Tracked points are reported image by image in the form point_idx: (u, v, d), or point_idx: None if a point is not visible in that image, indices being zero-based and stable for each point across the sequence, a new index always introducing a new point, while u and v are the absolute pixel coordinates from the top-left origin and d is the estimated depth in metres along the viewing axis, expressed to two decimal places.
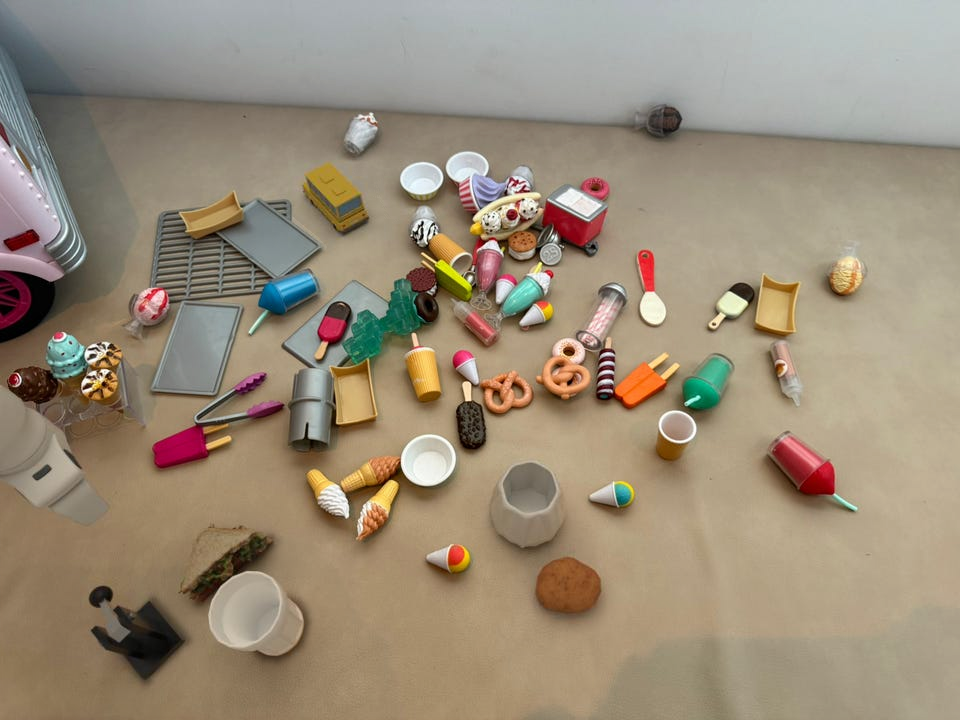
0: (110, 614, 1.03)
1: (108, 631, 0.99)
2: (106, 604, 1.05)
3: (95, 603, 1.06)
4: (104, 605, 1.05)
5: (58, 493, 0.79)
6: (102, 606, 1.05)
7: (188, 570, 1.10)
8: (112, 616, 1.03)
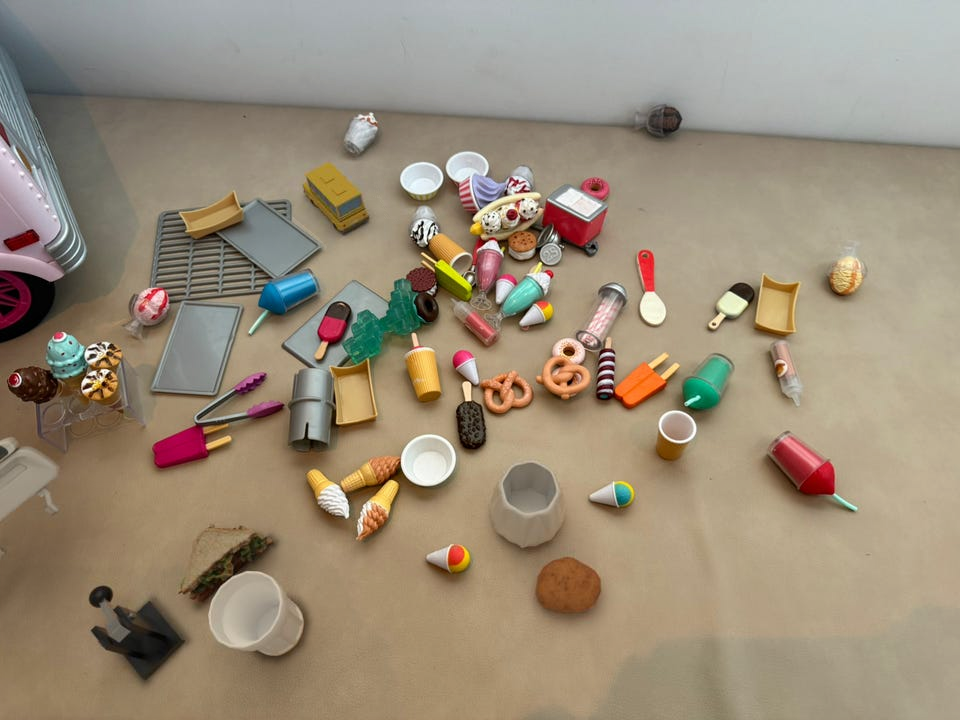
0: (110, 614, 1.03)
1: (108, 631, 0.99)
2: (106, 604, 1.05)
3: (95, 603, 1.06)
4: (104, 605, 1.05)
5: (13, 439, 1.03)
6: (102, 606, 1.05)
7: (188, 570, 1.10)
8: (112, 616, 1.03)
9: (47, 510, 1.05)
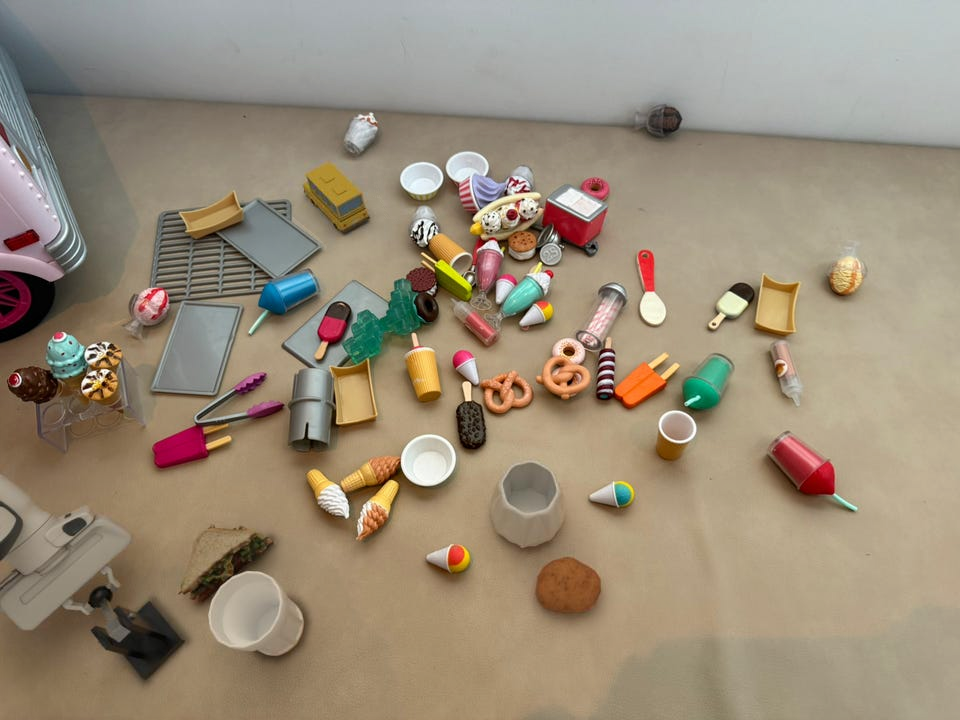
0: (110, 614, 1.03)
1: (108, 631, 0.99)
2: (106, 604, 1.05)
3: (95, 603, 1.06)
4: (104, 605, 1.05)
5: (90, 509, 1.06)
6: (102, 606, 1.05)
7: (188, 570, 1.10)
8: (112, 616, 1.03)
9: (109, 587, 1.08)
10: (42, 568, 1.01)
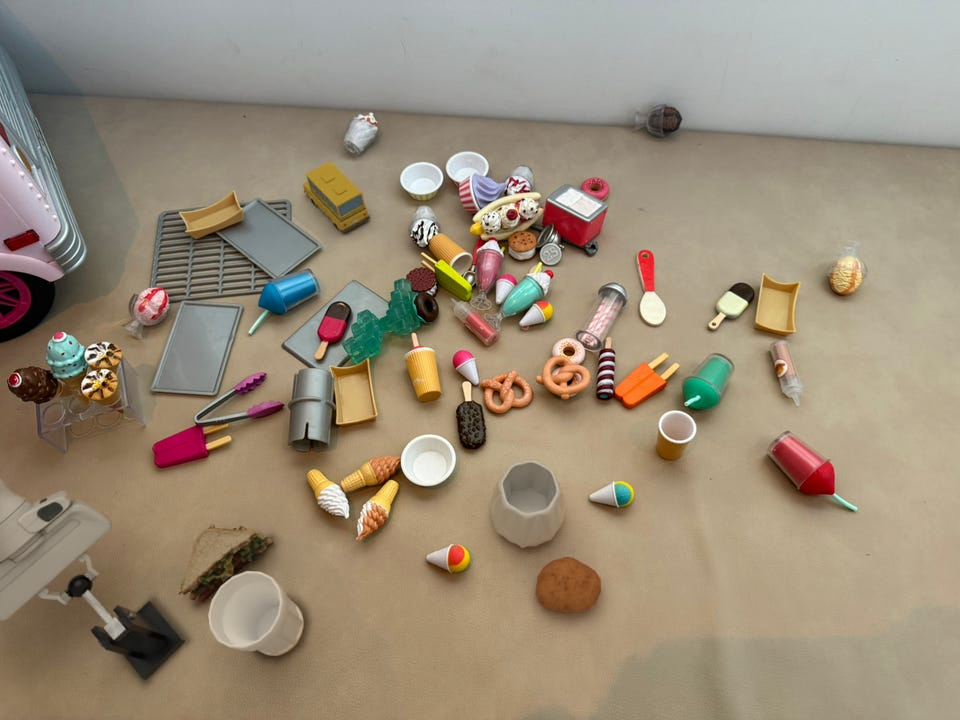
0: (103, 612, 1.01)
1: (111, 634, 0.99)
2: (93, 598, 1.02)
3: (78, 595, 1.02)
4: (91, 599, 1.02)
5: (67, 494, 1.02)
6: (88, 600, 1.02)
7: (188, 571, 1.10)
8: (107, 614, 1.01)
9: (87, 575, 1.03)
10: (16, 555, 0.96)
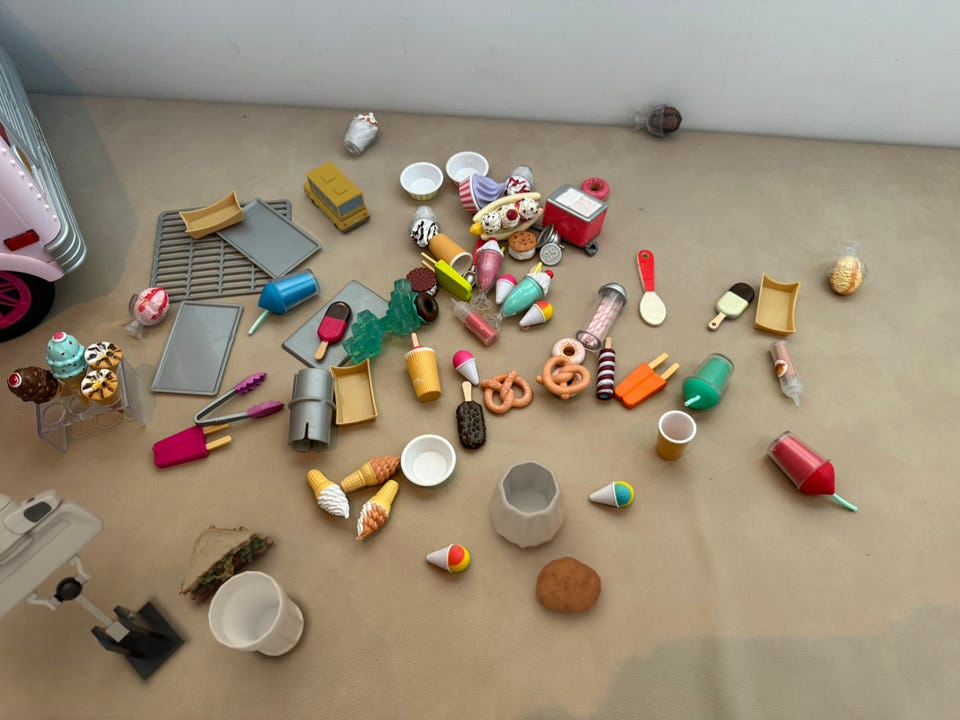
0: (101, 614, 0.99)
1: (114, 637, 1.00)
2: (88, 602, 0.99)
3: (70, 600, 0.97)
4: (86, 603, 0.98)
5: (56, 493, 0.96)
6: (83, 604, 0.98)
7: (188, 571, 1.10)
8: (106, 617, 1.00)
9: (78, 579, 0.97)
10: (1, 558, 0.91)
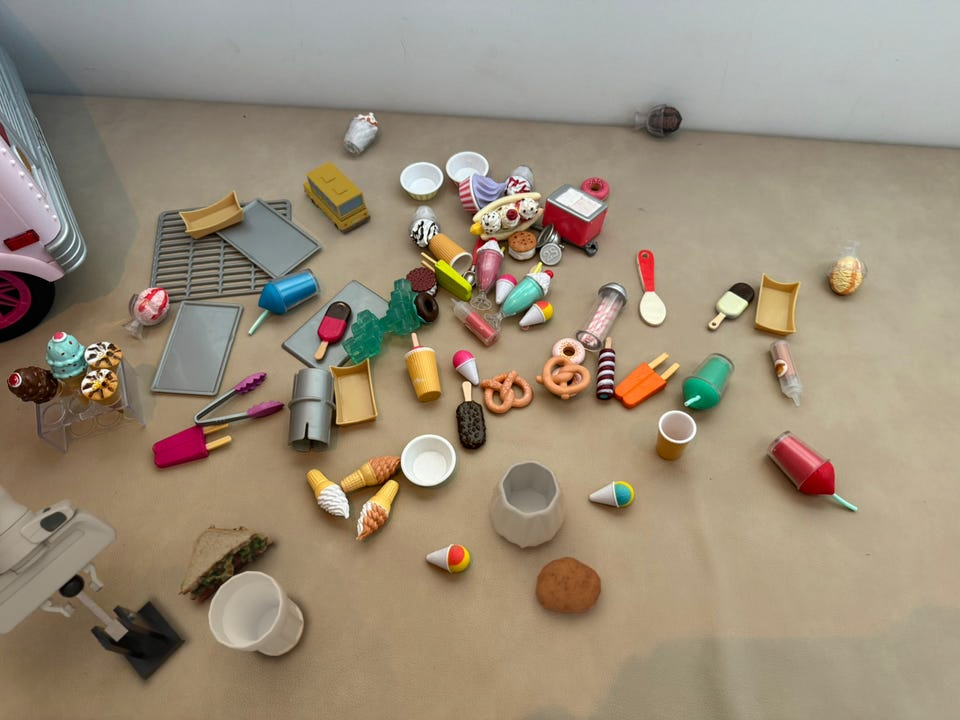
0: (101, 613, 1.00)
1: (113, 636, 0.99)
2: (89, 599, 1.00)
3: None
4: (87, 600, 1.00)
5: (71, 503, 0.99)
6: (84, 601, 1.00)
7: (188, 571, 1.10)
8: (106, 615, 1.00)
9: (92, 586, 1.00)
10: (18, 566, 0.93)
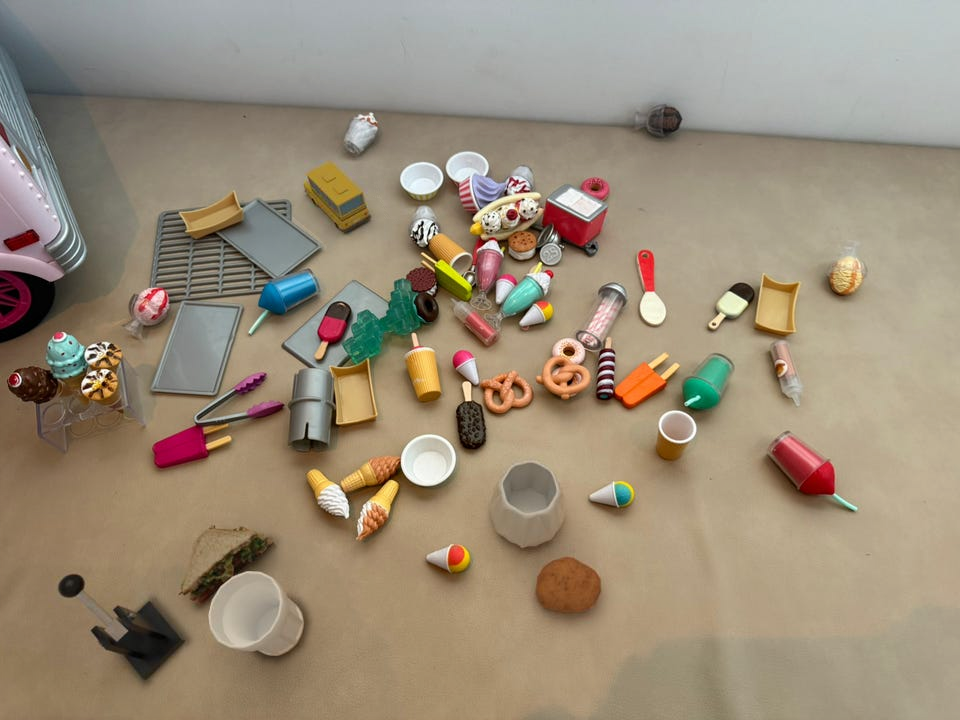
0: (101, 613, 1.00)
1: (113, 636, 0.99)
2: (89, 599, 1.00)
3: None
4: (87, 600, 1.00)
5: None
6: (84, 601, 1.00)
7: (189, 571, 1.10)
8: (106, 615, 1.00)
9: None
10: None
